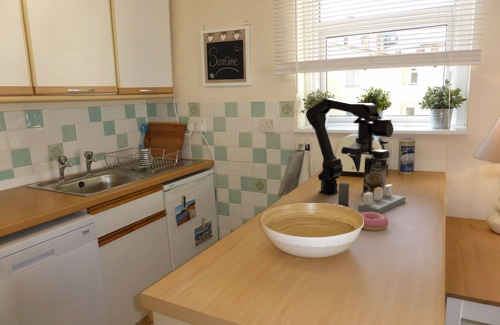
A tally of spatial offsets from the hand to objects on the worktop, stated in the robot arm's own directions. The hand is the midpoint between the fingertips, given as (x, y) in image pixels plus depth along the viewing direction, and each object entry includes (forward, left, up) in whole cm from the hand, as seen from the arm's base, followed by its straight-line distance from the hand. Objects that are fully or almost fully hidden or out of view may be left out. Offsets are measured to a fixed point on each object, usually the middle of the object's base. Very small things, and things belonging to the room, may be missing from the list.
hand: (363, 172), depth 151 cm
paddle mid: (+7, 0, -10) cm, 12 cm away
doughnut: (+17, -23, -12) cm, 31 cm away
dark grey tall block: (-2, -11, -12) cm, 16 cm away
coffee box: (-2, +13, -12) cm, 18 cm away
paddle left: (+7, -8, -10) cm, 15 cm away
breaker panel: (+9, 0, -12) cm, 15 cm away
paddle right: (+7, +8, -10) cm, 15 cm away
